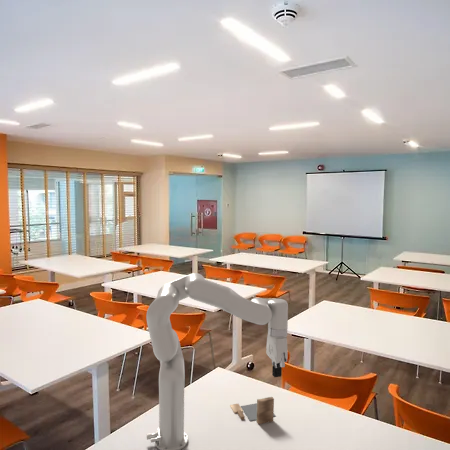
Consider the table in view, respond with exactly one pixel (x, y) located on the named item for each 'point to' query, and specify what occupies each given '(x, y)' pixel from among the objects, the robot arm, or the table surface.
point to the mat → (251, 411)
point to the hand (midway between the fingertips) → (276, 375)
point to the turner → (237, 410)
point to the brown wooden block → (265, 410)
